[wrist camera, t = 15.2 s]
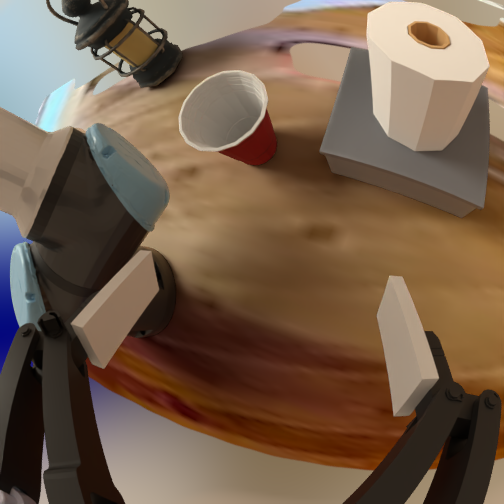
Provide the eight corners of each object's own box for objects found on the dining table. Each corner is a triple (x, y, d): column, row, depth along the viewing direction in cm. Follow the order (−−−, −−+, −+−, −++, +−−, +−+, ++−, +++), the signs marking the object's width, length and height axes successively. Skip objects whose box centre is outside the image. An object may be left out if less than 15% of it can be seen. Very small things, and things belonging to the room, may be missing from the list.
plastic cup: (257, 199, 37) (211, 168, 26) (212, 155, 41) (163, 121, 30) (312, 142, 35) (287, 91, 24) (261, 105, 38) (224, 58, 27)
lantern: (132, 96, 52) (14, 29, 20) (155, 53, 51) (55, -20, 19) (175, 91, 46) (39, -4, 14) (200, 44, 46) (91, -54, 13)
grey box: (328, 173, 34) (319, 151, 27) (356, 78, 33) (351, 47, 26) (462, 221, 26) (483, 208, 20) (474, 114, 25) (487, 87, 19)
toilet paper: (474, 125, 20) (507, 58, 9) (416, 170, 23) (441, 103, 12) (413, 66, 23) (416, -9, 12) (354, 103, 26) (338, 23, 15)
